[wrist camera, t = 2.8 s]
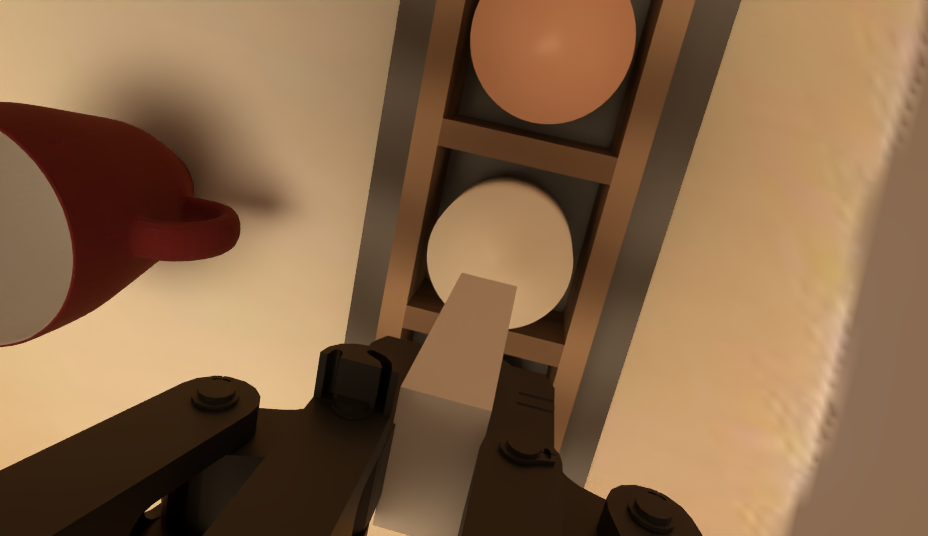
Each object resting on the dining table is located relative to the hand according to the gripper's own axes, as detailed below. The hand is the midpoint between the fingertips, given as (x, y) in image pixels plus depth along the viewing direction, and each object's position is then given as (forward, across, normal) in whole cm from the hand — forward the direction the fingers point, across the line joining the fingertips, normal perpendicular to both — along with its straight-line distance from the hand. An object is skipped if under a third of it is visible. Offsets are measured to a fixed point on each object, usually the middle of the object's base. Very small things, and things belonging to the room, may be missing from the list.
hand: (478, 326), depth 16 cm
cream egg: (+9, 0, 0) cm, 9 cm away
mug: (+12, -16, -2) cm, 20 cm away
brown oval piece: (+9, 0, +8) cm, 12 cm away
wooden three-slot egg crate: (+12, 0, 0) cm, 12 cm away
